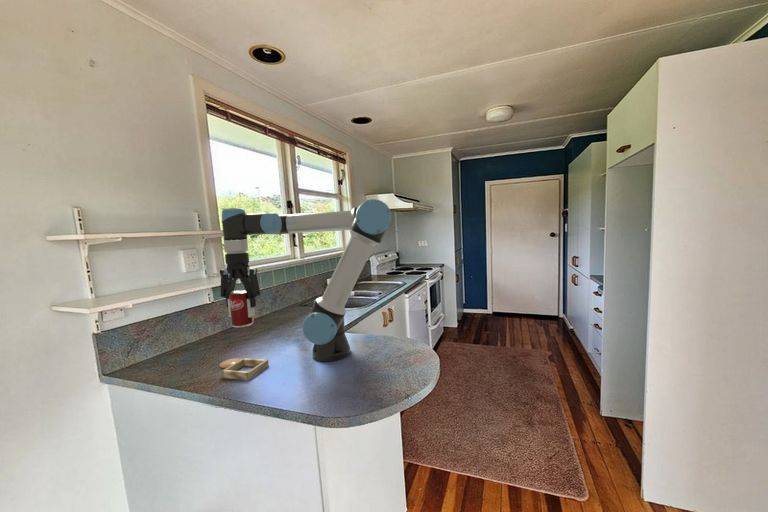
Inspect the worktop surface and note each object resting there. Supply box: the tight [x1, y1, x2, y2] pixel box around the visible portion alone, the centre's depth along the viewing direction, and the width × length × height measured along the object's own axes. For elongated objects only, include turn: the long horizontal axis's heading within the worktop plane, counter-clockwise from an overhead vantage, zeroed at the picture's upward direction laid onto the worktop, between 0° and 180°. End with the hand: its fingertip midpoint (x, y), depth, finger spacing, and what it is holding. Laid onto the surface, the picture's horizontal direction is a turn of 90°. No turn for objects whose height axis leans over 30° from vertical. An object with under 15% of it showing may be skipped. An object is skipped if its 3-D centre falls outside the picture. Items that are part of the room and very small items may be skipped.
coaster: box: [219, 357, 242, 369], centre depth 118 cm, size 8×8×1 cm
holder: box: [221, 357, 270, 381], centre depth 110 cm, size 11×11×2 cm
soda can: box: [229, 289, 254, 328], centre depth 109 cm, size 7×7×12 cm
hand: (242, 316), depth 109 cm, fingers closed on soda can, 7 cm apart
